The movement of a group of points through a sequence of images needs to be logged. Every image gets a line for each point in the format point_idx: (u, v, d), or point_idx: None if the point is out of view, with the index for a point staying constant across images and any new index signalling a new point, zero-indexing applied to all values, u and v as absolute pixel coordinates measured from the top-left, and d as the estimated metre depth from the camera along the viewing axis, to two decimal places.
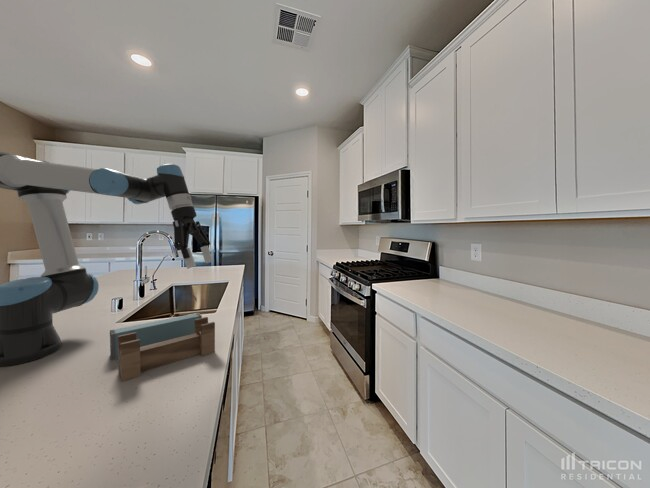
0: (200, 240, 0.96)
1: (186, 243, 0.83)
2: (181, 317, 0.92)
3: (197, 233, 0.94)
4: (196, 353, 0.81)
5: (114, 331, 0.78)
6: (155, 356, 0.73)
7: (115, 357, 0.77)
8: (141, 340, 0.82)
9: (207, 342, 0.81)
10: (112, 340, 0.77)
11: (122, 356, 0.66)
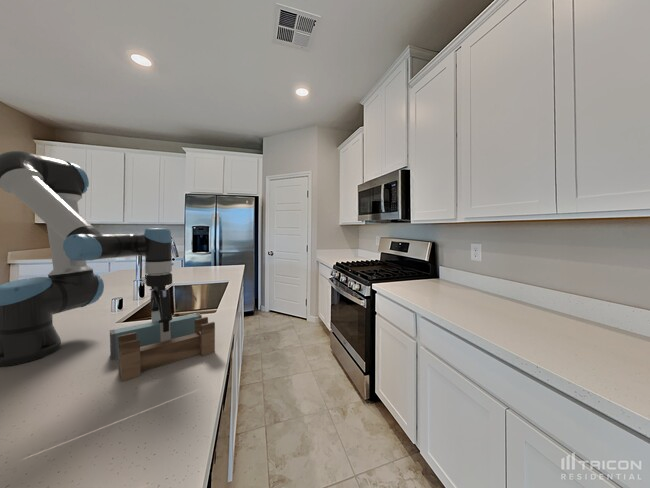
0: (156, 305, 0.90)
1: None
2: (181, 317, 0.92)
3: None
4: (196, 353, 0.81)
5: (114, 331, 0.78)
6: (155, 356, 0.73)
7: (115, 357, 0.77)
8: (141, 340, 0.82)
9: (207, 342, 0.81)
10: (112, 340, 0.77)
11: (122, 356, 0.66)
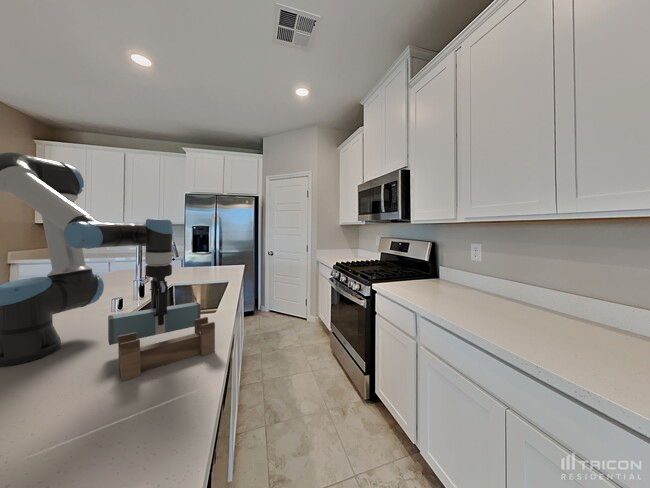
0: None
1: None
2: (180, 305, 0.92)
3: None
4: (196, 353, 0.81)
5: (112, 317, 0.78)
6: (155, 356, 0.73)
7: (113, 342, 0.77)
8: (139, 326, 0.82)
9: (207, 342, 0.81)
10: (110, 325, 0.76)
11: (122, 356, 0.66)
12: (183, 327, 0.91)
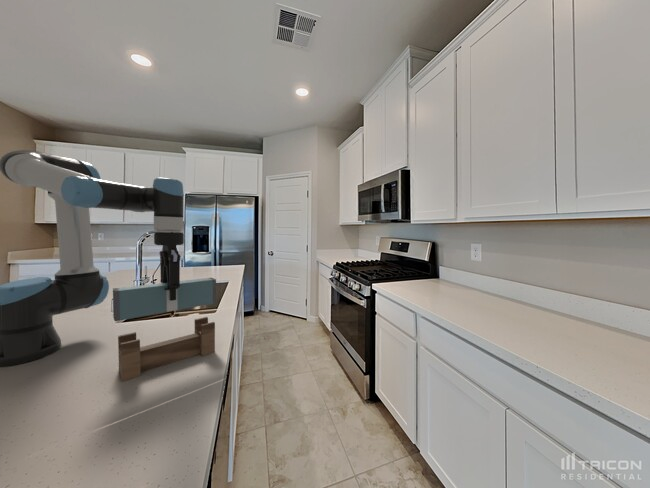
0: None
1: None
2: (193, 280, 0.81)
3: None
4: (196, 353, 0.81)
5: (118, 289, 0.67)
6: (155, 356, 0.73)
7: (119, 318, 0.66)
8: (149, 301, 0.71)
9: (207, 342, 0.81)
10: (115, 298, 0.66)
11: (122, 356, 0.66)
12: (197, 304, 0.80)
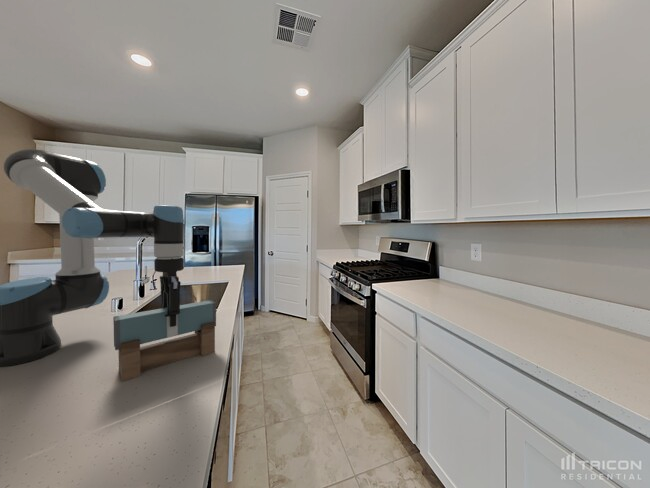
0: None
1: None
2: (193, 304, 0.81)
3: None
4: (196, 353, 0.81)
5: (118, 318, 0.68)
6: (155, 356, 0.73)
7: (119, 347, 0.67)
8: (149, 328, 0.71)
9: (207, 342, 0.81)
10: (116, 327, 0.66)
11: (122, 356, 0.66)
12: (197, 328, 0.80)
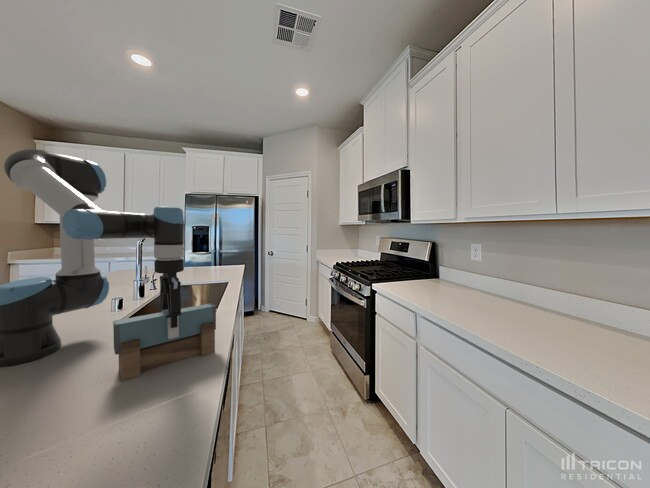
0: (167, 300, 0.78)
1: None
2: (193, 307, 0.82)
3: None
4: (196, 353, 0.81)
5: (118, 322, 0.68)
6: (155, 356, 0.73)
7: (119, 351, 0.67)
8: (149, 332, 0.71)
9: (207, 342, 0.81)
10: (116, 332, 0.66)
11: (122, 356, 0.66)
12: (197, 332, 0.81)
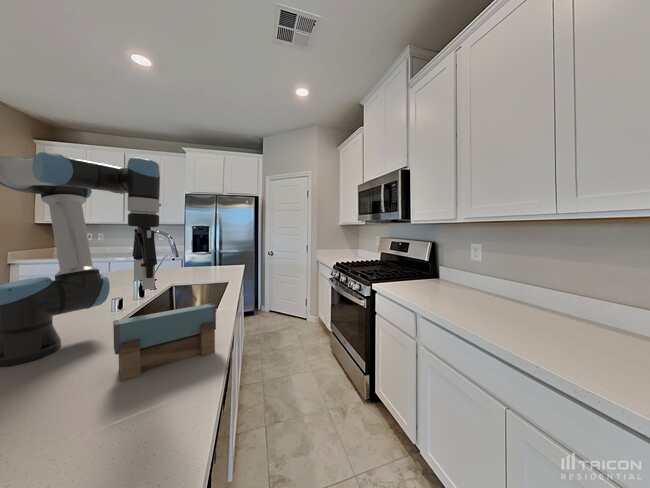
0: (140, 252, 0.79)
1: None
2: (193, 307, 0.82)
3: None
4: (196, 353, 0.81)
5: (118, 322, 0.68)
6: (155, 356, 0.73)
7: (119, 351, 0.67)
8: (149, 332, 0.71)
9: (207, 342, 0.81)
10: (116, 332, 0.66)
11: (122, 356, 0.66)
12: (197, 332, 0.81)
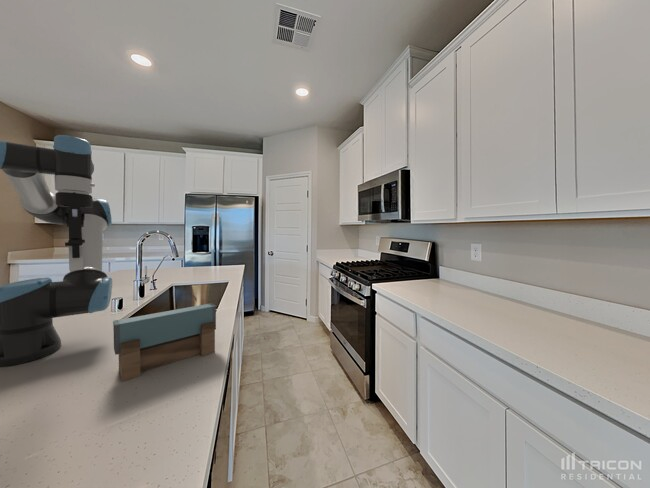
0: None
1: None
2: (193, 307, 0.82)
3: None
4: (196, 353, 0.81)
5: (118, 322, 0.68)
6: (155, 356, 0.73)
7: (119, 351, 0.67)
8: (149, 332, 0.71)
9: (207, 342, 0.81)
10: (116, 332, 0.66)
11: (122, 356, 0.66)
12: (197, 332, 0.81)
